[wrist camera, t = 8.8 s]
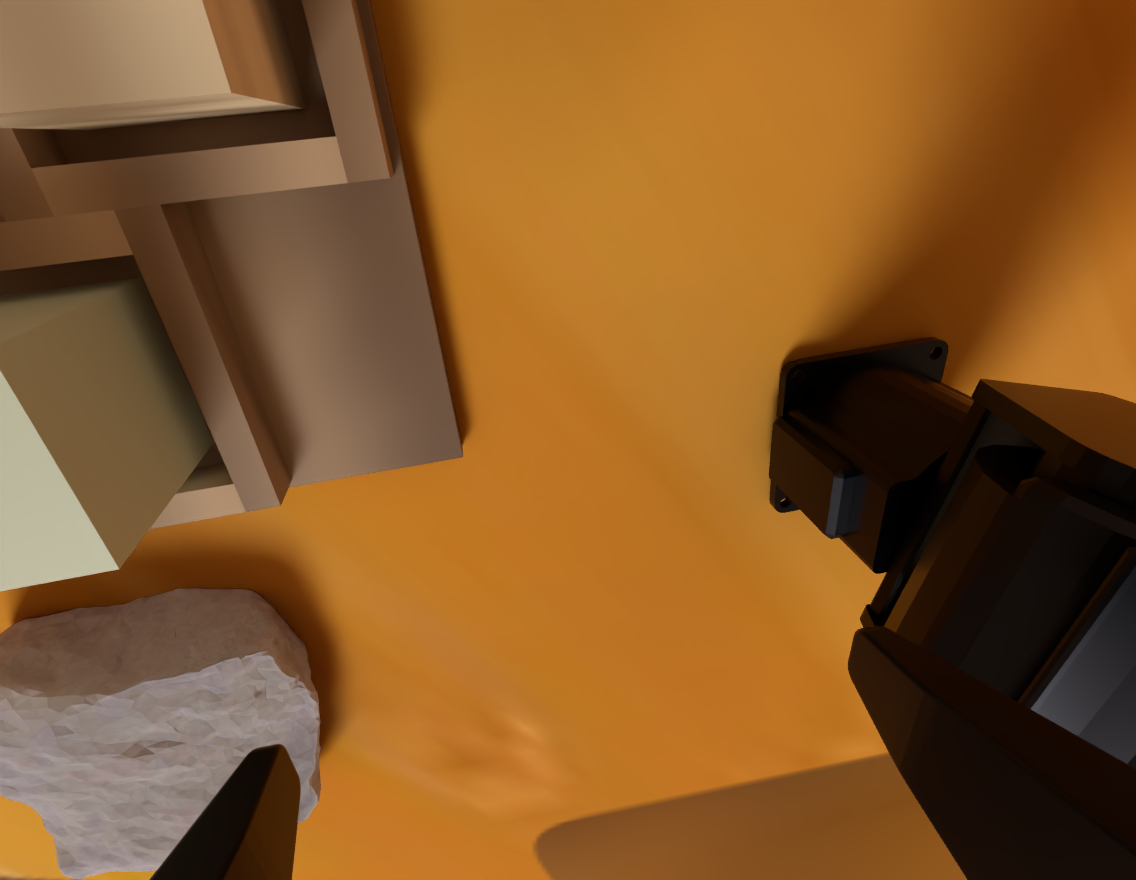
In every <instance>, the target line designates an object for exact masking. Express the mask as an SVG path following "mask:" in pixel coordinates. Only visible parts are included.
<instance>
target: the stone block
mask: <svg viewBox="0 0 1136 880" xmlns="http://www.w3.org/2000/svg"><path fill="white" fill-rule="evenodd" d="M320 723H321V721H320V715H319V698H318V693H317V691H316V689H315V687H314V685H313V682H312V680H311V669H310V666H309V664H308V654H307V649H306V647H305V646H304V643H303V642H302V641H301V640H300V639H299V638H298V637H297V636H296V635H295V634H294V633H293V631H292V630H291V629H290V627H289V626H288V624H287V623H286V622H285V621H284V620H283V619H282V617H281V616H280V615H279V614H278V613H277V612H276V611H275V609H274V608H273V607H272V605H270V604H269V603H268V602H267V601H266V600H265V599H264V598H263V597H261V596H260V595H259V594H257V593H255V592H253V591H252V590H247V589H227V590H225V589H203V588H192V589H187V588H179V589H176V590H173V591H170V592H165V593H162V594H159V595H155V596H150V597H140V598H137V599H135V600H133V601H131V602H129V603H126V604H123V605H113V606H107V607H90V608H76V609H73V610H69V611H65V612H61V613H57V614H52V615H48V616H43V617H36V618H27V619H24V620H21V621H19V622H17V623H15V624H13V625H12V626H10V627H9V628H7V629H6V630H5V631H4V632H2V633H1V634H0V794H1V796H2V797H4V798H8V799H10V800H14V801H19V802H22V803H24V804H26V805H28V806H30V807H31V808H33V809H34V810H35V811H37V813H38V814H39V815H40V816H41V817H42V820H43V823H44V826H45V829H46V830H47V831H48V832H49V833H50V834H51V835H52V836H53V837H54V841H55V848H56V853H57V862H58V867H59V869H60V871H61V873H63V874H64V875H65V876H67V877H68V878H75V879H83V878H85V877H88V876H92V875H97V874H101V873H105V872H112V871H121V872H131V871H138V872H142V871H153V870H157V869H158V868H159V867H160V866H161V864H162V863H163V862H164V860H165V859H166V858H167V857H168V855H169V854H170V853H171V851H172V850H173V849H174V848H175V846H176V845H177V844H178V843H179V841H180V840H181V839H182V837H183V836H184V835H185V834H186V832H187V831H188V830H189V828H190V827H191V826H192V825H193V823H194V822H195V821H196V819H197V818H198V817H199V816H200V814H201V813H202V812H203V811H204V809H205V808H206V807H207V805H208V804H209V803H210V802H211V800H212V799H213V798H214V796H215V795H216V794H217V793H218V791H219V790H220V789H221V787H222V786H223V785H224V784H225V782H226V781H227V780H228V778H229V777H230V776H231V775H232V773H233V772H234V771H235V770H236V768H237V767H238V766H239V764H240V763H241V762H242V761H243V759H244V758H245V757H246V756H247V754H248V753H249V752H251V751H252V750H253V749H256V748H259V747H264V746H269V745H274V744H282V745H283V746H285V748H286V749H287V752H288V754H289V756H290V758H291V760H292V762H293V764H294V766H295V769H296V771H297V773H298V775H299V778H300V784H301V795H300V805H299V815H298V823H299V822H302V821H304V820H306V819H307V818H308V817H309V816H310V814H311V812H312V810H313V809H314V807H315V806H316V804H317V803H318V801H319V796H320V790H321V783H320V770H319V754H320V751H321V747H320V743H319V736H320Z"/></svg>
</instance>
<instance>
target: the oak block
mask: <svg viewBox="0 0 1136 880" xmlns="http://www.w3.org/2000/svg"><path fill="white" fill-rule="evenodd" d="M305 109H307V106H306V102H305V98H304V94H303V91H302V87H301V83H300V79H299V76H298V72H297V68H296V64H295V61H294V57H293V53H292V49H291V45H290V42H289V38H288V34H287V30H286V27H285V23H284V19H283V15H282V12H281V8H280V4H279V0H0V128H25V129H68V130H95V129H105V128H116V127H126V126H137V125H147V124H158V123H168V122H179V121H189V120H200V119H210V118H221V117H231V116H242V115H252V114H263V113H273V112H284V111H294V110H305Z"/></svg>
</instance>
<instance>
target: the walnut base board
mask: <svg viewBox="0 0 1136 880" xmlns="http://www.w3.org/2000/svg"><path fill="white" fill-rule="evenodd" d="M279 4H280V8H281V12H282V15H283V19H284V23H285V27H286V30H287V34H288V38H289V42H290V45H291V49H292V53H293V57H294V61H295V64H296V68H297V72H298V76H299V79H300V83H301V87H302V91H303V94H304V98H305V102H306V106H307V109H305V110H294V111H284V112H273V113H263V114H252V115H242V116H231V117H221V118H210V119H200V120H189V121H179V122H168V123H158V124H147V125H137V126H126V127H116V128H105V129H95V130H68V129H25V128H0V296H2V295H10V294H18V293H25V292H33V291H41V290H49V289H57V288H64V287H72V286H80V285H88V284H95V283H103V282H111V281H119V280H126V279H134V278H142V279H143V281H144V284H145V286H146V288H147V291H148V293H149V295H150V297H151V300H152V302H153V304H154V306H155V309H156V311H157V313H158V316H159V318H160V320H161V322H162V325H163V327H164V329H165V332H166V334H167V336H168V338H169V341H170V343H171V345H172V347H173V350H174V352H175V354H176V357H177V359H178V361H179V363H180V366H181V368H182V370H183V373H184V375H185V377H186V379H187V382H188V384H189V386H190V388H191V391H192V393H193V395H194V398H195V400H196V402H197V404H198V407H199V409H200V411H201V414H202V416H203V418H204V420H205V423H206V425H207V427H208V429H209V432H210V434H211V436H212V439H213V441H214V443H213V445H212V446H211V447H210V449H209V450H208V451H207V453H206V454H205V455H204V457H203V458H202V459H201V461H200V462H199V463H198V465H197V466H196V467H195V469H194V470H193V471H192V473H191V474H190V475H189V477H188V478H187V479H186V481H185V482H184V483H183V485H182V486H181V487H180V489H179V490H178V491H177V493H176V494H175V496H174V497H173V498H172V500H171V501H170V502H169V504H168V505H167V506H166V508H165V509H164V510H163V512H162V513H161V514H160V516H159V517H158V518H157V520H156V521H155V522H154V524H153V525H152V526H151V528H150V529H154V528H159V527H165V526H171V525H176V524H182V523H187V522H193V521H199V520H204V519H210V518H215V517H221V516H226V515H232V514H238V513H243V512H249V511H254V510H260V509H265V508H271V507H277V506H281V504H282V501H283V499H284V497H285V495H286V492H287V490H288V488H290V487H295V486H301V485H307V484H312V483H318V482H324V481H330V480H335V479H341V478H347V477H352V476H358V475H364V474H369V473H375V472H381V471H386V470H392V469H398V468H403V467H409V466H415V465H421V464H426V463H432V462H438V461H443V460H449V459H455V458H460V457H463V449H462V442H461V438H460V433H459V428H458V423H457V418H456V413H455V409H454V404H453V399H452V394H451V389H450V384H449V380H448V375H447V370H446V365H445V360H444V356H443V351H442V346H441V341H440V336H439V331H438V327H437V322H436V317H435V312H434V307H433V302H432V298H431V293H430V288H429V283H428V278H427V274H426V269H425V264H424V259H423V254H422V249H421V245H420V240H419V235H418V230H417V225H416V220H415V216H414V211H413V206H412V201H411V196H410V192H409V187H408V182H407V177H406V172H405V167H404V163H403V158H402V153H401V148H400V143H399V138H398V134H397V129H396V124H395V119H394V114H393V110H392V105H391V100H390V95H389V90H388V85H387V81H386V76H385V71H384V66H383V61H382V56H381V52H380V47H379V42H378V37H377V32H376V28H375V23H374V18H373V13H372V8H371V3H370V0H279Z"/></svg>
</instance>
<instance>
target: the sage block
mask: <svg viewBox="0 0 1136 880" xmlns="http://www.w3.org/2000/svg"><path fill="white" fill-rule="evenodd" d="M213 443H214V441H213V439H212V436H211V434H210V432H209V429H208V427H207V425H206V423H205V420H204V418H203V416H202V414H201V411H200V409H199V407H198V404H197V402H196V400H195V398H194V395H193V393H192V391H191V388H190V386H189V384H188V382H187V379H186V377H185V375H184V373H183V370H182V368H181V366H180V363H179V361H178V359H177V357H176V354H175V352H174V350H173V347H172V345H171V343H170V341H169V338H168V336H167V334H166V332H165V329H164V327H163V325H162V322H161V320H160V318H159V316H158V313H157V311H156V309H155V306H154V304H153V302H152V300H151V297H150V295H149V293H148V291H147V288H146V286H145V284H144V281H143V279H142V278H134V279H126V280H119V281H111V282H103V283H95V284H88V285H80V286H72V287H64V288H57V289H49V290H41V291H33V292H25V293H18V294H10V295H2V296H0V591H5V590H11V589H16V588H21V587H27V586H32V585H38V584H43V583H48V582H54V581H59V580H64V579H70V578H75V577H81V576H86V575H91V574H97V573H102V572H107V571H113V570H118V569H120V568H121V567H122V565H123V564H124V562H125V561H126V560H127V558H128V557H129V556H130V554H131V553H132V552H133V550H134V549H135V548H136V546H137V545H138V544H139V542H140V541H141V540H142V538H143V537H144V536H145V534H146V533H147V532H148V530H149V529H150V528H151V526H152V525H153V524H154V522H155V521H156V520H157V518H158V517H159V516H160V514H161V513H162V512H163V510H164V509H165V508H166V506H167V505H168V504H169V502H170V501H171V500H172V498H173V497H174V496H175V494H176V493H177V491H178V490H179V489H180V487H181V486H182V485H183V483H184V482H185V481H186V479H187V478H188V477H189V475H190V474H191V473H192V471H193V470H194V469H195V467H196V466H197V465H198V463H199V462H200V461H201V459H202V458H203V457H204V455H205V454H206V453H207V451H208V450H209V449H210V447H211V446H212V445H213Z"/></svg>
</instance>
